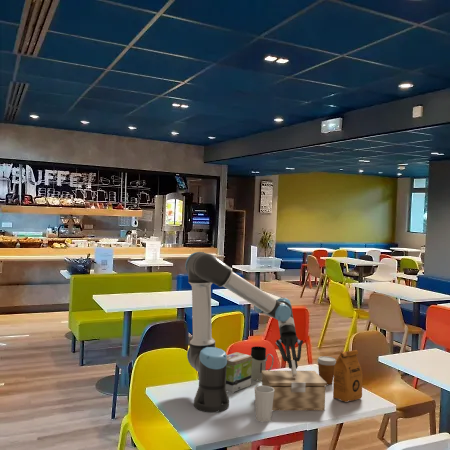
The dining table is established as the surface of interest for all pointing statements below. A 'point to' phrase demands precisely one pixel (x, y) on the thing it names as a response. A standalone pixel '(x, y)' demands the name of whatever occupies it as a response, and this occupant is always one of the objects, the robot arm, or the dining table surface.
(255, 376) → the glass holder
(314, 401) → the wooden box
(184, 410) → the dining table surface
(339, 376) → the coffee package
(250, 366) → the tea box
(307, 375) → the box lid
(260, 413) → the cup
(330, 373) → the disposable coffee cup
